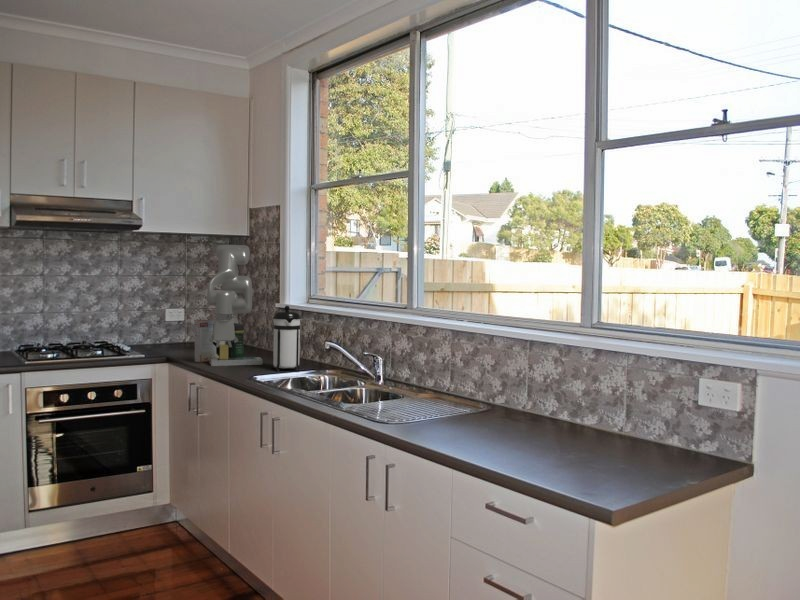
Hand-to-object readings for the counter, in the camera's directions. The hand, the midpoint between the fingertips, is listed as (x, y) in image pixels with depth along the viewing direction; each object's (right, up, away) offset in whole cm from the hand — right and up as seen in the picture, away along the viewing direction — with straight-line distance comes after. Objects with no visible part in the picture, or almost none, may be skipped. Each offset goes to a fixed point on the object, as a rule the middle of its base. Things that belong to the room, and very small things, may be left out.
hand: (223, 354), depth 348 cm
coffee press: (+31, -6, -9) cm, 33 cm away
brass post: (0, -3, 0) cm, 3 cm away
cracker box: (-10, -4, +12) cm, 16 cm away
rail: (+6, -5, +2) cm, 8 cm away
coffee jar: (0, -4, +22) cm, 23 cm away
